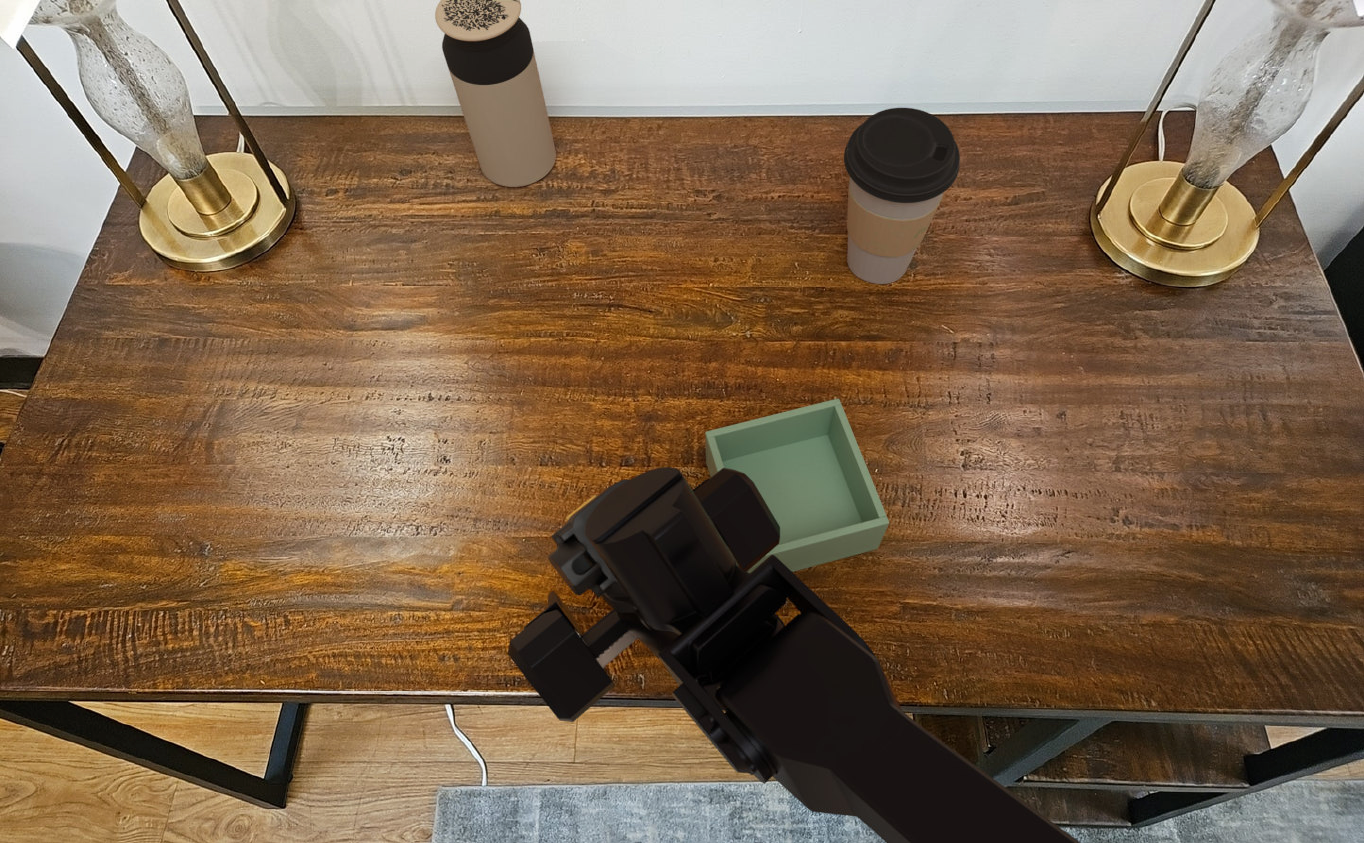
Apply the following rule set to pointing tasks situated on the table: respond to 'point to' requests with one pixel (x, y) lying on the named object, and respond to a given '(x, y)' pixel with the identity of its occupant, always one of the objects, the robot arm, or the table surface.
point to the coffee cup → (895, 188)
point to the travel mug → (498, 88)
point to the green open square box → (806, 482)
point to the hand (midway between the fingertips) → (604, 556)
